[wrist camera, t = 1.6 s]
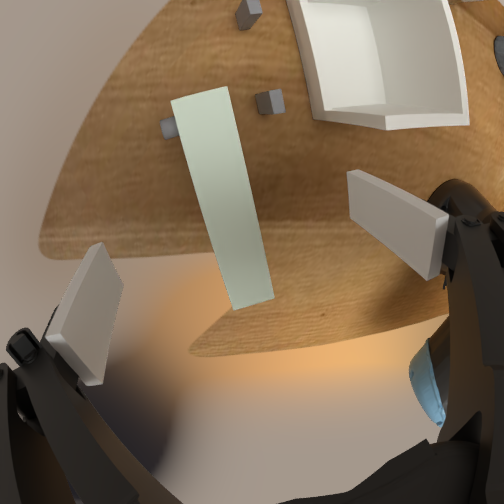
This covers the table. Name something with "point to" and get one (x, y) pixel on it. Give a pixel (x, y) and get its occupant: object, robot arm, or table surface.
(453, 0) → the sprinkles bottle
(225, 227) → the door
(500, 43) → the moka pot
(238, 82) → the table surface
